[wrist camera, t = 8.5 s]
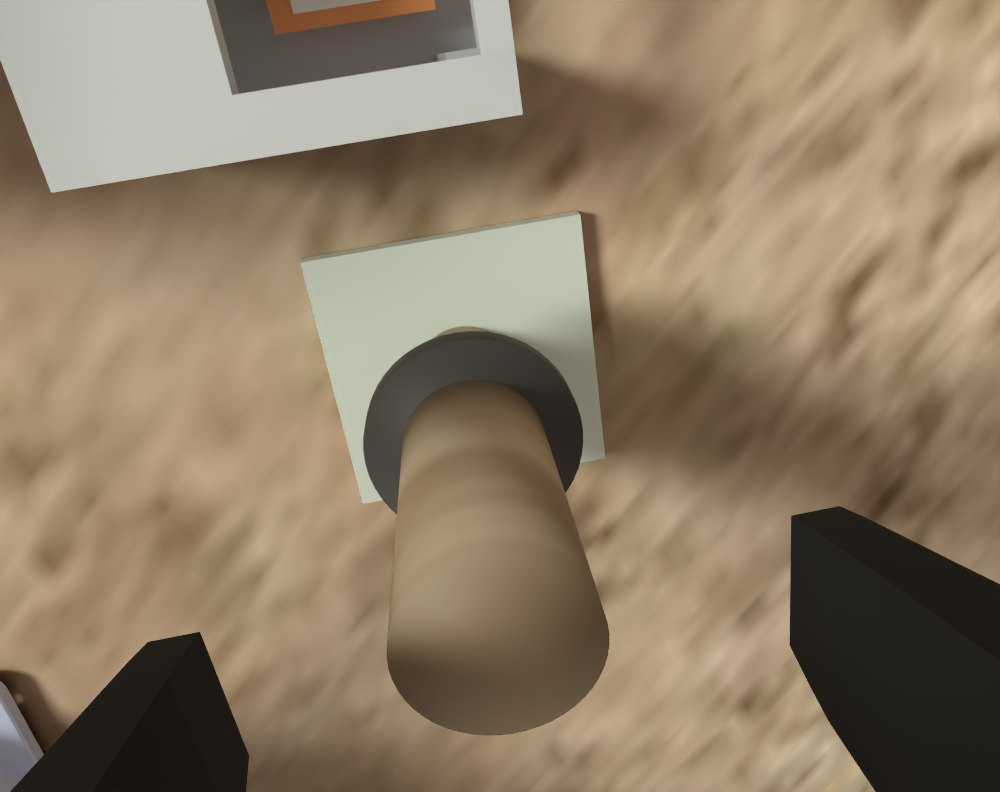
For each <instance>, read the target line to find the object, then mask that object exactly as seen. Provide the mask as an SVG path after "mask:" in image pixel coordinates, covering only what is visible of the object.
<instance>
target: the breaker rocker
mask: <svg viewBox="0 0 1000 792" xmlns="http://www.w3.org/2000/svg"><path fill="white" fill-rule="evenodd" d="M266 3H267V6H268V10H269V13H270V17H271V20H272V24H273V27H274V31H275V34H276V35H278V34H284V33H290V32H297V31H303V30H309V29H315V28H322V27H328V26H334V25H341V24H347V23H353V22H359V21H366V20H372V19H378V18H385V17H391V16H397V15H403V14H410V13H416V12H422V11H429V10H435V9H436V7H435V0H266Z"/></svg>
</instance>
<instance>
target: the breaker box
mask: <svg viewBox="0 0 1000 792" xmlns="http://www.w3.org/2000/svg"><path fill="white" fill-rule="evenodd" d="M435 7H436V9H435V10H429V11H422V12H416V13H410V14H403V15H397V16H391V17H385V18H378V19H372V20H366V21H359V22H353V23H347V24H341V25H334V26H328V27H322V28H315V29H309V30H303V31H297V32H290V33H284V34H278V35H276V34H275V31H274V27H273V24H272V20H271V17H270V13H269V10H268V6H267V3H266V0H0V61H1V63H2V66H3V69H4V71H5V74H6V76H7V79H8V82H9V84H10V87H11V89H12V92H13V95H14V97H15V100H16V103H17V105H18V108H19V110H20V113H21V116H22V118H23V121H24V123H25V126H26V129H27V131H28V134H29V136H30V139H31V142H32V144H33V147H34V149H35V152H36V155H37V157H38V160H39V162H40V165H41V168H42V170H43V173H44V175H45V178H46V181H47V183H48V186H49V188H50V191H51V193H54V192H60V191H66V190H72V189H78V188H84V187H90V186H96V185H102V184H108V183H114V182H120V181H126V180H132V179H138V178H144V177H150V176H156V175H162V174H168V173H174V172H180V171H186V170H192V169H198V168H204V167H210V166H216V165H222V164H228V163H234V162H240V161H246V160H252V159H258V158H264V157H270V156H276V155H282V154H288V153H294V152H300V151H306V150H312V149H318V148H325V147H331V146H337V145H343V144H349V143H355V142H361V141H367V140H373V139H379V138H385V137H391V136H397V135H403V134H409V133H415V132H421V131H427V130H433V129H439V128H445V127H451V126H457V125H463V124H469V123H475V122H481V121H487V120H493V119H499V118H505V117H511V116H517V115H523V111H522V103H521V95H520V87H519V79H518V72H517V64H516V56H515V48H514V40H513V32H512V24H511V16H510V8H509V1H508V0H435Z"/></svg>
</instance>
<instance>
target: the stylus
mask: <svg viewBox="0 0 1000 792" xmlns="http://www.w3.org/2000/svg"><path fill="white" fill-rule="evenodd" d="M582 449H583V427H582V421H581V416H580V413H579V410H578V407H577V404H576V402H575V399H574V397H573V395H572V393H571V391H570V389H569V387H568V385H567V383H566V381H565V379H564V378H563V376H562V375H561V373H560V372H559V370H558V369H557V368H556V367H555V366H554V365H553V364H552V362H551V361H550V360H549V359H547V358H546V357H545V356H544V355H543V354H541V353H540V352H539V351H538V350H536V349H534V348H533V347H531V346H529V345H528V344H526V343H524V342H522V341H519V340H517V339H515V338H512V337H509V336H505V335H502V334H498V333H492V332H488V331H486V330H484V329H481V328H477V327H471V326H462V327H455V328H451V329H448V330H445V331H443V332H441V333H440V334H438V335H437V336H435V337H434V338H433V339H431V340H428V341H426V342H424V343H422V344H420V345H418V346H416V347H415V348H413V349H412V350H410V351H409V352H407V353H406V354H404V355H403V356H402V357H401V358H400V359H399V360H397V361H396V362H395V363H394V364H393V365H392V366H391V367H390V369H389V370H388V371H387V372H386V373H385V374H384V376H383V377H382V379H381V381H380V382H379V384H378V385H377V387H376V389H375V391H374V394H373V396H372V398H371V401H370V405H369V408H368V412H367V417H366V422H365V428H364V435H363V452H364V459H365V464H366V468H367V471H368V474H369V477H370V479H371V481H372V483H373V486H374V488H375V489H376V491H377V492H378V494H379V495H380V497H381V498H382V500H383V501H384V502H385V503H386V504H387V505H388V506H389V508H390V509H391V510H393V511H394V512H395V513H396V514H397V521H396V534H395V547H394V561H393V574H392V587H391V600H390V613H389V626H388V639H387V661H388V668H389V671H390V675H391V678H392V680H393V682H394V684H395V686H396V688H397V690H398V692H399V693H400V694H401V696H402V697H403V698H404V700H405V701H406V702H407V703H408V704H409V705H410V706H411V707H412V708H413V709H414V710H416V711H417V712H418V713H420V714H421V715H422V716H424V717H425V718H427V719H429V720H430V721H432V722H434V723H436V724H438V725H441V726H443V727H445V728H448V729H452V730H455V731H458V732H463V733H468V734H476V735H504V734H513V733H518V732H522V731H527V730H530V729H533V728H536V727H539V726H541V725H544V724H546V723H548V722H551V721H553V720H554V719H556V718H558V717H560V716H562V715H563V714H565V713H566V712H567V711H569V710H570V709H572V708H573V707H574V706H575V705H577V704H578V703H579V702H580V701H581V700H582V699H583V698H584V697H585V696H586V695H587V694H588V693H589V691H590V690H591V689H592V688H593V686H594V685H595V683H596V682H597V680H598V679H599V677H600V675H601V673H602V670H603V668H604V666H605V663H606V659H607V656H608V649H609V630H608V624H607V620H606V617H605V614H604V611H603V608H602V605H601V601H600V598H599V595H598V592H597V589H596V586H595V583H594V580H593V577H592V574H591V571H590V568H589V565H588V562H587V559H586V556H585V553H584V549H583V546H582V543H581V540H580V537H579V534H578V531H577V528H576V525H575V522H574V519H573V516H572V513H571V510H570V507H569V504H568V501H567V497H566V494H565V493H566V491H567V490H568V488H569V486H570V485H571V483H572V481H573V480H574V477H575V475H576V472H577V470H578V468H579V464H580V460H581V456H582Z"/></svg>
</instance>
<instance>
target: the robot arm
mask: <svg viewBox="0 0 1000 792" xmlns="http://www.w3.org/2000/svg"><path fill="white" fill-rule="evenodd" d="M790 647H791V649H792V651H793V653H794V655H795V657H796V659H797V661H798V663H799V665H800V667H801V669H802V671H803V673H804V675H805V677H806V679H807V681H808V683H809V685H810V687H811V689H812V691H813V692H814V694H815V696H816V698H817V700H818V702H819V704H820V706H821V707H822V709H823V711H824V713H825V715H826V717H827V719H828V721H829V722H830V724H831V725H832V727H833V728H834V730H835V731H836V733H837V734H838V736H839V738H840V739H841V741H842V742H843V744H844V745H845V747H846V748H847V750H848V751H849V753H850V754H851V756H852V757H853V759H854V760H855V762H856V763H857V765H858V766H859V767H860V769H861V770H862V772H863V773H864V775H865V776H866V778H867V779H868V781H869V782H870V784H871V785H872V787H873V788H874V790H875V791H876V792H1000V584H998V583H996V582H994V581H992V580H990V579H988V578H986V577H984V576H982V575H980V574H978V573H976V572H974V571H972V570H970V569H967V568H965V567H963V566H961V565H959V564H957V563H955V562H953V561H951V560H949V559H947V558H945V557H943V556H941V555H939V554H937V553H935V552H933V551H931V550H929V549H927V548H925V547H923V546H921V545H919V544H917V543H915V542H913V541H911V540H909V539H907V538H905V537H903V536H901V535H899V534H897V533H895V532H893V531H891V530H889V529H887V528H885V527H883V526H881V525H879V524H877V523H875V522H873V521H871V520H869V519H867V518H865V517H863V516H860V515H858V514H856V513H854V512H852V511H849V510H847V509H845V508H842V507H840V506H839V507H834V508H828V509H823V510H818V511H813V512H808V513H803V514H798V515H793V516H791V591H790ZM248 762H249V755H248V752H247V750H246V747H245V745H244V742H243V740H242V737H241V735H240V732H239V730H238V727H237V725H236V722H235V720H234V717H233V714H232V712H231V709H230V707H229V704H228V702H227V699H226V697H225V694H224V692H223V689H222V687H221V684H220V682H219V679H218V677H217V674H216V672H215V669H214V666H213V664H212V661H211V659H210V656H209V654H208V651H207V649H206V646H205V644H204V641H203V639H202V636H201V634H200V632H197V633H192V634H187V635H182V636H177V637H171V638H166V639H161V640H156V641H151V642H148V643H147V644H146V645H145V646H144V647H143V648H142V649H141V650H140V651H139V652H138V653H137V654H136V655H135V656H134V657H133V658H132V659H131V660H130V661H129V662H128V663H127V664H126V665H125V666H124V667H123V668H122V669H121V670H120V672H119V673H118V674H117V675H116V676H115V677H114V678H113V679H112V680H111V681H110V682H109V684H108V685H107V686H106V687H105V688H104V689H103V690H102V691H101V692H100V694H99V695H98V696H97V697H96V698H95V699H94V700H93V701H92V702H91V703H90V705H89V706H88V707H87V708H86V709H85V710H84V711H83V712H82V713H81V715H80V716H79V717H78V718H77V719H76V720H75V721H74V722H73V723H72V725H71V726H70V727H69V728H68V729H67V730H66V731H65V732H64V733H63V734H62V736H61V737H60V738H59V739H58V740H57V741H56V742H55V743H54V744H53V745H52V746H51V748H50V749H49V750H48V751H47V752H46V753H45V754H43V752H42V750H41V748H40V746H39V745H38V743H37V741H36V739H35V737H34V736H33V734H32V732H31V730H30V728H29V727H28V725H27V723H26V721H25V719H24V718H23V716H22V714H21V712H20V710H19V709H18V707H17V705H16V703H15V701H14V700H13V698H12V696H11V694H10V692H9V691H8V689H7V687H6V686H5V685H4V684H3V683H2V682H1V681H0V792H246V784H247V773H248Z"/></svg>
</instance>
